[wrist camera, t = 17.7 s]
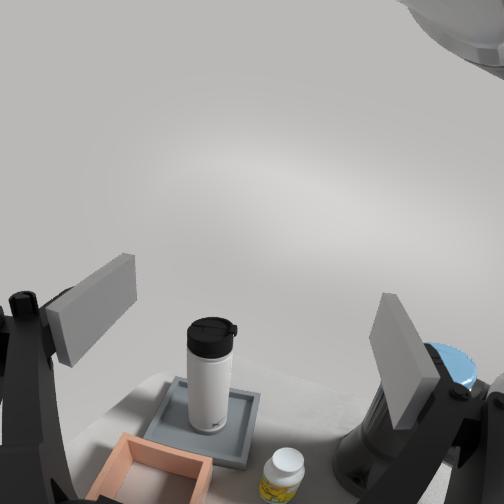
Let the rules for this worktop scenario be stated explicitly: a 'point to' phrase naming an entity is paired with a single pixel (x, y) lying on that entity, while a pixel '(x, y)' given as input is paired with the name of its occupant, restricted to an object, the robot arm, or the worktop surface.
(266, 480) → the supplement bottle
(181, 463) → the square planter box
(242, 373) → the worktop surface
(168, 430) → the grey tray
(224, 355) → the travel mug
